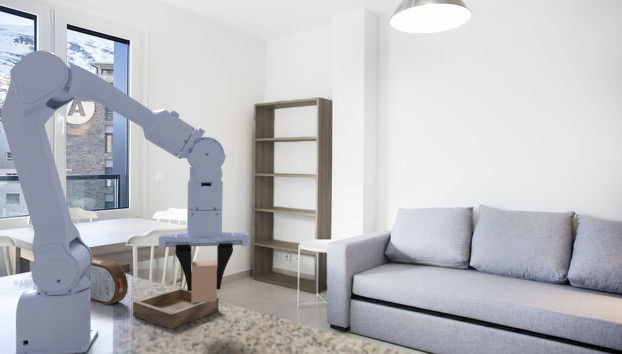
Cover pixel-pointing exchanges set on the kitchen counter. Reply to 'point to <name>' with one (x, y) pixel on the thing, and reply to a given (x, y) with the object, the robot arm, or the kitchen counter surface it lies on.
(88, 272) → the tin
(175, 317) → the tray
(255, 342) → the kitchen counter surface
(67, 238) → the robot arm
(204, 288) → the block
